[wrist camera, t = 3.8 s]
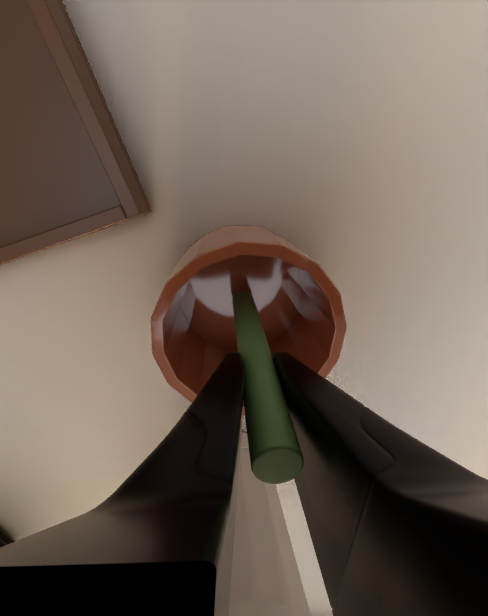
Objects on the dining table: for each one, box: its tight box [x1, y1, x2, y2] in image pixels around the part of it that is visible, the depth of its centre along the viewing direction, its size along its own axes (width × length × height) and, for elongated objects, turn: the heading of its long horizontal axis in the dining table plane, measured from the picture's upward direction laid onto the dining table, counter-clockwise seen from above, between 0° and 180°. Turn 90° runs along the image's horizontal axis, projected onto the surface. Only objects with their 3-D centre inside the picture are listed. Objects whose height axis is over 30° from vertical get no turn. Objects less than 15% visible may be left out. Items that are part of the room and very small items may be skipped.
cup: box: [228, 432, 311, 616], centre depth 15 cm, size 8×8×12 cm
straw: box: [232, 290, 304, 484], centre depth 10 cm, size 1×1×10 cm
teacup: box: [151, 225, 346, 415], centre depth 13 cm, size 7×7×5 cm
